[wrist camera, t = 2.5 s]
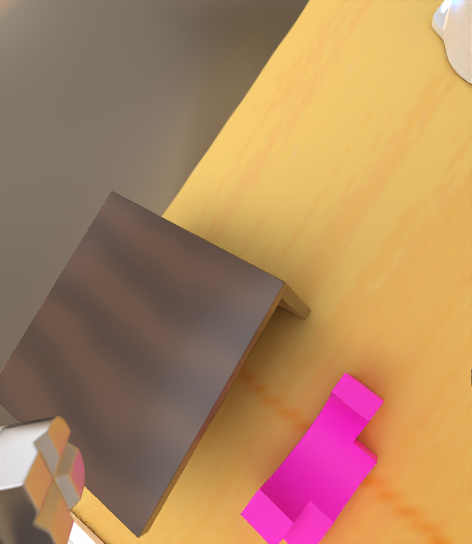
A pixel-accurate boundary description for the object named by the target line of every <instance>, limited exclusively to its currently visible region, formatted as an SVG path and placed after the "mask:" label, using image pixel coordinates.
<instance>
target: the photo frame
mask: <svg viewBox="0 0 472 544" xmlns="http://www.w3.org/2000/svg"><path fill="white" fill-rule="evenodd" d="M69 512H70V514H71V516H72V518H73V520H74V523H73V527H72V530H71V533H70V536H69V540H68V543H67V544H104V543H103V542H102V541H101V540H100V539H99V538H98V537H97V536H96V535H95V534H94V533H93V532H92V531H91V530H90V529H89V528H88V527H87V526H86V525H84V524H83V523H82V522H81V521H80V520H79V519H78V518H77V517H76V516H75V515H74V514H73V513H72V512H71V511H69Z"/></svg>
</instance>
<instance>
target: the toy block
mask: <svg viewBox="0 0 472 544" xmlns="http://www.w3.org/2000/svg"><path fill="white" fill-rule="evenodd" d="M383 402H384V400H383V399H382V398H380V397H379V396H378V395H376V394H375V393H374V392H372V391H371V390H370V389H369V388H367V387H366V386H365V385H363V384H362V383H361V382H359V381H358V380H357V379H355V378H354V377H353V376H351V375H349V374H347V373H345V374H344V375H343V377H342V378H341V379H340V381H339V382H338V383H337V385H336V386H335V387H334V389H333V390H332V391H331V395H330V397H329V399H328V401H327V403H326V404H325V406H324V408H323V409H322V411H321V412H320V414H319V415H318V417H317V418H316V420H315V421H314V423H313V424H312V425H311V427H310V428H309V430H308V431H307V432H306V434H305V435H304V436H303V438H302V439H301V440H300V442H299V443H298V444H297V446H296V447H295V448H294V449H293V451H292V452H291V453H290V454H289V456H288V457H287V458H286V459H285V461H284V462H283V463H282V464H281V466H280V467H279V468H278V469H277V470H276V471H275V473H274V474H273V475H272V476H271V477H270V478H269V479H268V480H267V482H266V483H265V484H264V485H263V486H262V487H261V488H260V489H259V490H258V491H257V492H256V494H255V495H254V497H253V498H252V499H251V501H250V502H249V503H248V505H247V506H246V507H245V509H244V510H243V511H242V513H241V515H242V516H243V517H244V518H245V519H246V520H247V522H248V523H249V524H250V525H251V526H252V527H253V528H254V529H255V530H256V531H257V532H258V533H259V534H260V535H261V536H262V537H263V538H264V539H265V540H266V541H267V543H268V544H279V543H280V541H281V540H282V539H284V540H285V541H286V542H287V543H288V544H318V543H319V542H320V540H321V539H322V538H323V536H324V535H325V534H326V532H327V531H328V530H329V528H330V527H331V526H332V524H333V523H334V521H335V520H336V518H337V517H338V515H339V514H340V512H341V511H342V509H343V508H344V506H345V505H346V503H347V502H348V500H349V499H350V498H351V496H352V495H353V493H354V492H355V491H356V489H357V488H358V486H359V485H360V484H361V482H362V481H363V480H364V478H365V477H366V476H367V474H368V473H369V472H370V471H371V469H372V468H373V467H374V465H375V464H376V463H377V456H376V455H375V454H374V453H373V452H371V451H370V450H369V449H368V448H367V447H365V446H364V445H363V444H362V443H361V442H359V441H358V440H357V439H356V438H357V436H358V435H359V434H360V432H361V431H362V430H363V428H364V427H365V426H366V425H367V423H368V422H369V421H370V420H371V418H372V417H373V416H374V414H375V413H376V412H377V410H378V409H379V408H380V406H381V405H382V403H383Z"/></svg>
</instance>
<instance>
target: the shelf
mask: <svg viewBox="0 0 472 544" xmlns="http://www.w3.org/2000/svg"><path fill="white" fill-rule="evenodd" d="M277 305H279V306H281V307H283V308H285V309H287V310H288V311H290V312H292V313H294V314H296V315H297V316H299V317H301V318H303V319H305V320H306V319H307V317H308V315H309V314H310V312H311V310H310V309H309V308H308V307H307V306H306V305H305V304H304V303H303V301H302V300H301V299H300V298H299V297H298V296H297V295H296V294H295V293H294V292H293V291H292V290H291V288H290V287H289V286H288V285H287V284H286V283H285V282H284V281H282V280H280V279H278V278H276V277H274V276H272V275H270V274H269V273H267V272H265V271H263V270H261V269H259V268H257V267H255V266H253V265H252V264H250V263H248V262H246V261H244V260H242V259H240V258H238V257H236V256H234V255H233V254H231V253H229V252H227V251H225V250H223V249H221V248H219V247H217V246H215V245H214V244H212V243H210V242H208V241H206V240H204V239H202V238H200V237H198V236H196V235H195V234H193V233H191V232H189V231H187V230H185V229H183V228H181V227H179V226H177V225H176V224H174V223H172V222H170V221H168V220H166V219H164V218H162V217H160V216H158V215H157V214H155V213H153V212H151V211H149V210H147V209H145V208H143V207H141V206H140V205H138V204H136V203H134V202H132V201H130V200H128V199H126V198H124V197H122V196H120V195H119V194H117V193H115V192H113V191H112V192H111V193H110V195H109V196H108V198H107V200H106V201H105V203H104V205H103V206H102V208H101V209H100V211H99V213H98V214H97V216H96V218H95V219H94V221H93V222H92V224H91V226H90V227H89V229H88V231H87V232H86V234H85V236H84V237H83V239H82V241H81V242H80V244H79V245H78V247H77V249H76V250H75V252H74V254H73V255H72V257H71V259H70V260H69V262H68V263H67V265H66V267H65V268H64V270H63V271H62V273H61V275H60V277H59V278H58V280H57V281H56V283H55V285H54V286H53V288H52V289H51V291H50V293H49V295H48V296H47V298H46V299H45V301H44V302H43V304H42V306H41V307H40V309H39V311H38V312H37V314H36V316H35V317H34V319H33V320H32V322H31V324H30V325H29V327H28V329H27V330H26V332H25V333H24V335H23V337H22V338H21V340H20V342H19V343H18V345H17V346H16V348H15V350H14V351H13V353H12V355H11V356H10V358H9V360H8V361H7V363H6V365H5V366H4V368H3V369H2V371H1V373H0V404H1V405H2V406H3V407H4V408H5V409H6V410H7V411H8V412H9V413H10V414H11V415H12V416H14V418H15V419H17V421H18V422H19V423H22V422H27V421H33V420H39V419H44V418H50V417H55V416H59V417H62V418H64V419H65V421H66V423H67V424H68V426H69V428H70V430H71V432H70V435H69V438H68V440H67V442H69V443H71V444H72V445H74V446H76V447H77V448H79V451H80V453H81V455H82V458H83V462H84V467H85V482H84V486H85V487H86V488H87V489H88V490H89V491H90V492H91V493H92V494H93V495H94V496H96V497H97V498H98V499H99V500H100V501H101V502H102V503H103V504H104V505H105V506H106V507H107V508H108V509H109V510H110V511H111V512H112V513H113V514H114V515H115V516H116V517H117V518H118V519H119V520H120V521H121V522H122V523H123V524H124V525H125V526H126V527H127V528H128V529H129V530H130V531H131V532H133V533H134V534H135V535H136V536H137V537H138V538H139V537H140V536H142V535H144V534H145V533H147V532H148V531H149V529H150V527H151V526H152V524H153V522H154V520H155V519H156V517H157V515H158V513H159V512H160V510H161V508H162V506H163V505H164V503H165V501H166V499H167V498H168V496H169V494H170V492H171V491H172V489H173V487H174V485H175V484H176V482H177V480H178V478H179V477H180V475H181V473H182V471H183V470H184V468H185V466H186V464H187V463H188V461H189V459H190V457H191V456H192V454H193V452H194V450H195V449H196V447H197V445H198V443H199V442H200V440H201V438H202V436H203V435H204V433H205V431H206V430H207V428H208V426H209V424H210V423H211V421H212V419H213V417H214V416H215V414H216V412H217V410H218V409H219V407H220V405H221V403H222V402H223V400H224V398H225V396H226V395H227V393H228V391H229V389H230V388H231V386H232V384H233V382H234V381H235V379H236V377H237V375H238V374H239V372H240V370H241V368H242V367H243V365H244V363H245V361H246V360H247V358H248V356H249V354H250V353H251V351H252V349H253V347H254V346H255V344H256V342H257V340H258V339H259V337H260V335H261V333H262V332H263V330H264V328H265V326H266V325H267V323H268V321H269V319H270V318H271V316H272V314H273V312H274V311H275V309H276V307H277Z"/></svg>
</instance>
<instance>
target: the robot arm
mask: <svg viewBox="0 0 472 544" xmlns="http://www.w3.org/2000/svg"><path fill="white" fill-rule="evenodd" d="M431 24H432V27H433V29H434V30H435V32H436V33H437V34H438V35H439V36H440V37H441V38H442V39H443V41H444V44H445V49H446V54H447V57H448V60H449V62H450V64H451V66H452V67H453V69H454V70H455V71H456V72H457V73H458V74H459V75H460V76H461V77H462V78H463V79H465V80H466V81H468V82H469V83H471V84H472V0H445V1H444V2H443V3H442V5H441V6H440V7H439V8H438V9H437V10H436V12H435V13H434V15H433V19H432V23H431ZM471 385H472V370H471ZM70 432H71V430H70V428H69V426H68V424H67V423H66V421H65V419H64V418H62V417H59V416H55V417H50V418H44V419H39V420H33V421H27V422H22V423H16V424H11V425H8V426H0V544H67V543H68V540H69V536H70V533H71V530H72V527H73V523H74V520H73V518H72V516H71V514H70V512H69V511H70V510H71V509H72V508H73V507H74V506H75V505H76V504H77V503H78V502H79V500H80V499H81V496H82V492H83V489H84V482H85V467H84V462H83V458H82V455H81V453H80V451H79V448H77V447H76V446H74V445H72V444H71V443H69V442H67V440H68V438H69V435H70Z"/></svg>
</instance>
